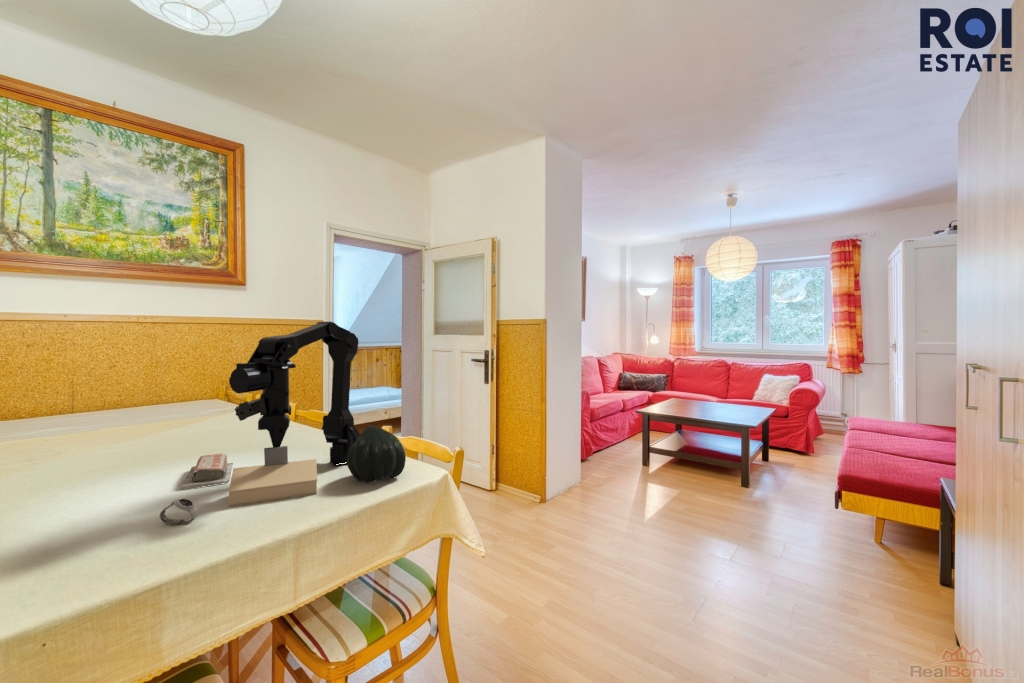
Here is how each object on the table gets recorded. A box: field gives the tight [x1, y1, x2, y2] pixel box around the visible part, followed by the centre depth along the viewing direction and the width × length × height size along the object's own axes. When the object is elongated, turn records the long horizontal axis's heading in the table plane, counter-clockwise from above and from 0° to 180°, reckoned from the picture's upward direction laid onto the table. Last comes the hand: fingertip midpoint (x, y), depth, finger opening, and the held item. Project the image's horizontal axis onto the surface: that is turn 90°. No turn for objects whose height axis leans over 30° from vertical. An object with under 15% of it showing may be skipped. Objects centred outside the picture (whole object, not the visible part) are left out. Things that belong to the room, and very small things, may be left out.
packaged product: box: [181, 453, 234, 490], centre depth 115 cm, size 18×5×10 cm
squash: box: [346, 424, 406, 484], centre depth 115 cm, size 14×15×15 cm
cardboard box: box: [228, 480, 318, 507], centre depth 103 cm, size 18×8×3 cm, turn 116°
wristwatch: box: [159, 498, 197, 527], centre depth 87 cm, size 4×6×5 cm, turn 102°
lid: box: [228, 445, 318, 494], centre depth 102 cm, size 18×8×6 cm, turn 116°
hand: (276, 449), depth 105 cm, fingers closed
